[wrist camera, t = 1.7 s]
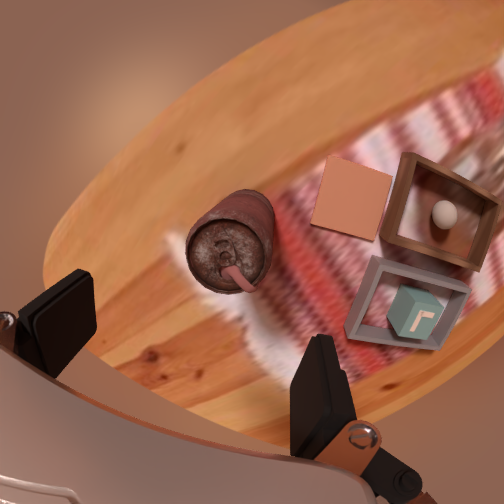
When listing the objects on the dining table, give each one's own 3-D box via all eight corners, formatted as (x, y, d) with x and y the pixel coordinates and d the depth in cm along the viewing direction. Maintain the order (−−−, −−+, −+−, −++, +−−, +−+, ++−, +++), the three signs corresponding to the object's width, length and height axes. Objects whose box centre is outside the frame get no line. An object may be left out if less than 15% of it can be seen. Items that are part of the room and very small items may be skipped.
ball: (450, 203, 28) (465, 208, 25) (443, 228, 29) (457, 235, 26) (431, 194, 28) (446, 199, 25) (423, 220, 29) (437, 227, 26)
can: (250, 253, 33) (231, 317, 20) (210, 215, 32) (164, 258, 19) (287, 217, 31) (293, 261, 18) (246, 177, 30) (221, 193, 17)
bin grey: (461, 280, 31) (471, 289, 29) (432, 339, 35) (439, 350, 32) (371, 254, 32) (379, 263, 29) (343, 325, 35) (347, 338, 32)
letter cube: (427, 290, 32) (444, 308, 28) (413, 320, 34) (427, 340, 29) (400, 283, 32) (416, 301, 28) (386, 315, 34) (398, 336, 29)
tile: (391, 176, 28) (392, 176, 28) (372, 239, 31) (373, 240, 31) (328, 154, 28) (328, 154, 28) (310, 222, 31) (310, 223, 31)
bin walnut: (489, 196, 27) (502, 201, 24) (468, 264, 30) (479, 272, 28) (401, 152, 27) (413, 152, 24) (378, 235, 31) (387, 242, 28)
